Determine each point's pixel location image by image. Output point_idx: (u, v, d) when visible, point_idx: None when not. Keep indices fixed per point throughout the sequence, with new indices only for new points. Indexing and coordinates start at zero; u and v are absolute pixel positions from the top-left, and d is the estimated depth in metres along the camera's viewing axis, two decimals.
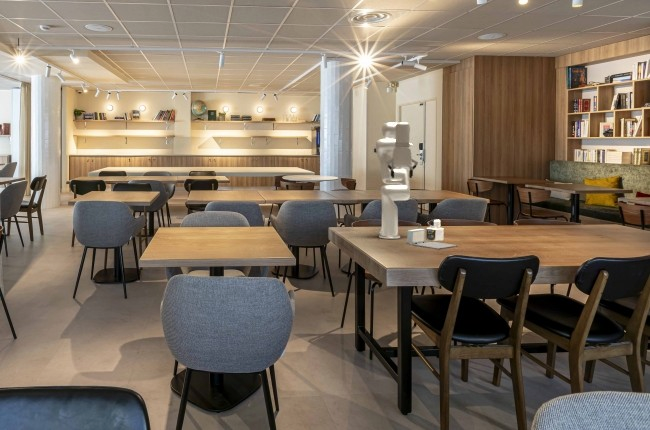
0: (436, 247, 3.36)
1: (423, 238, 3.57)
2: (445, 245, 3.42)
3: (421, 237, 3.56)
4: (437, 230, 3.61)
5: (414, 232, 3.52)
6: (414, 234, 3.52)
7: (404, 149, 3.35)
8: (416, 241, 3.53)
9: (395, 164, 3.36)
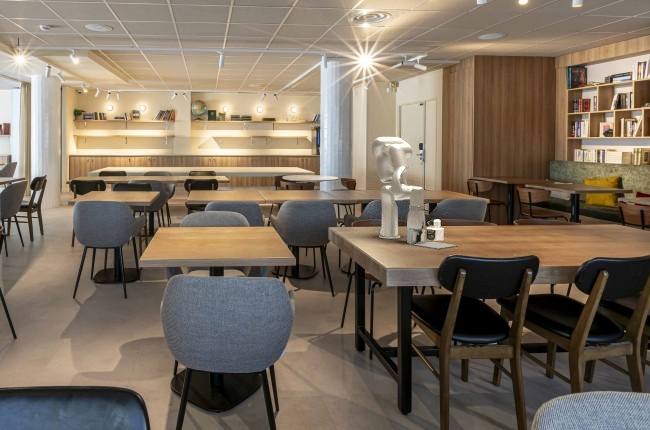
0: (436, 247, 3.36)
1: (423, 238, 3.57)
2: (445, 245, 3.42)
3: (421, 237, 3.56)
4: (437, 230, 3.61)
5: (414, 232, 3.52)
6: (414, 234, 3.52)
7: None
8: None
9: None
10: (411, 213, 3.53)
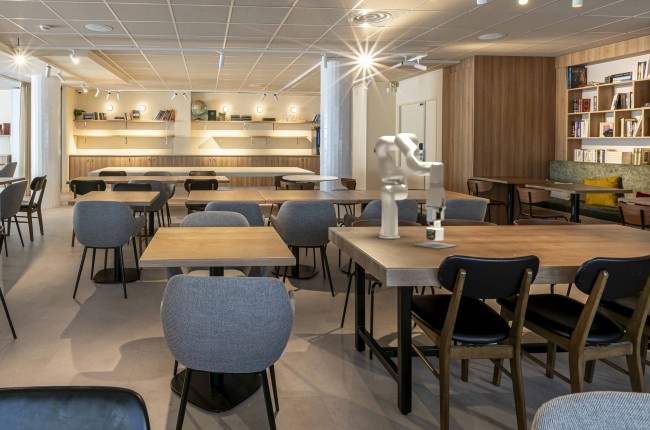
0: (436, 247, 3.36)
1: (443, 216, 3.44)
2: (445, 245, 3.42)
3: (441, 214, 3.43)
4: (437, 230, 3.61)
5: (434, 209, 3.39)
6: (434, 212, 3.39)
7: None
8: (435, 218, 3.41)
9: None
10: (431, 190, 3.41)
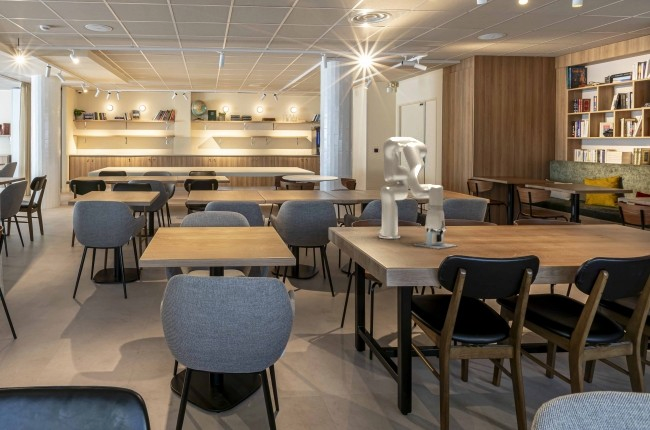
0: (436, 247, 3.36)
1: (442, 240, 3.46)
2: (445, 245, 3.42)
3: None
4: None
5: (433, 233, 3.41)
6: (433, 236, 3.41)
7: None
8: (435, 242, 3.42)
9: None
10: (430, 212, 3.42)
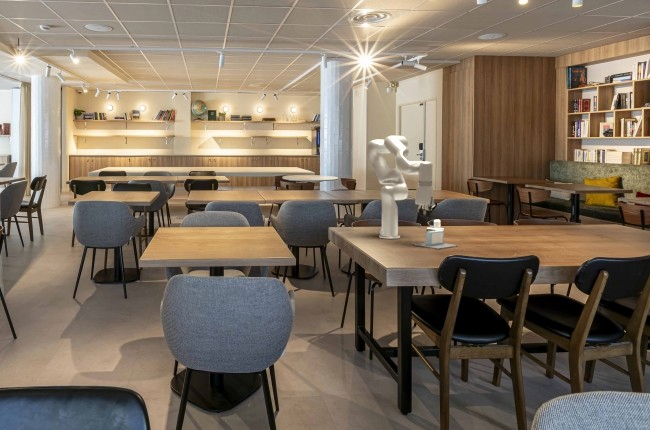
0: (436, 247, 3.36)
1: (442, 240, 3.46)
2: (445, 245, 3.42)
3: (440, 239, 3.45)
4: None
5: (433, 233, 3.41)
6: (433, 236, 3.41)
7: None
8: (435, 242, 3.42)
9: None
10: (419, 188, 3.47)
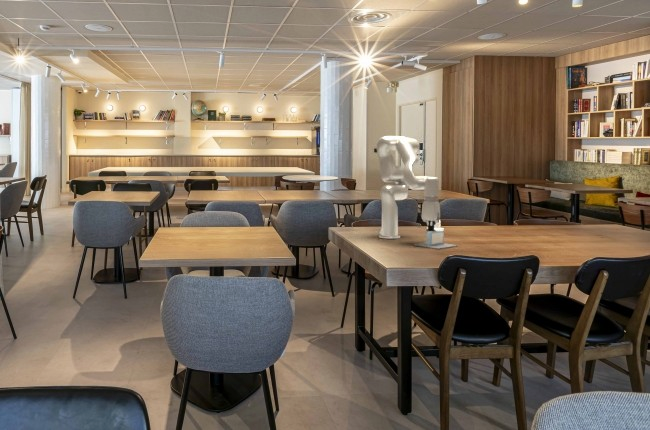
0: (436, 247, 3.36)
1: (442, 240, 3.46)
2: (445, 245, 3.42)
3: (440, 239, 3.45)
4: None
5: (433, 233, 3.41)
6: (433, 236, 3.41)
7: None
8: (435, 242, 3.42)
9: None
10: (426, 204, 3.44)
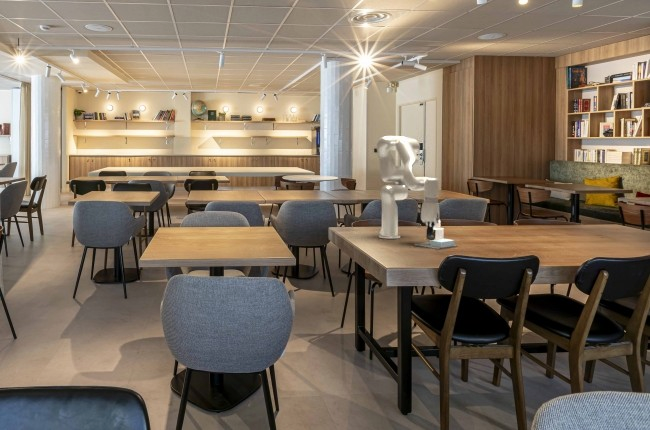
0: (436, 247, 3.36)
1: None
2: None
3: None
4: (437, 230, 3.61)
5: None
6: None
7: None
8: None
9: None
10: (425, 205, 3.44)
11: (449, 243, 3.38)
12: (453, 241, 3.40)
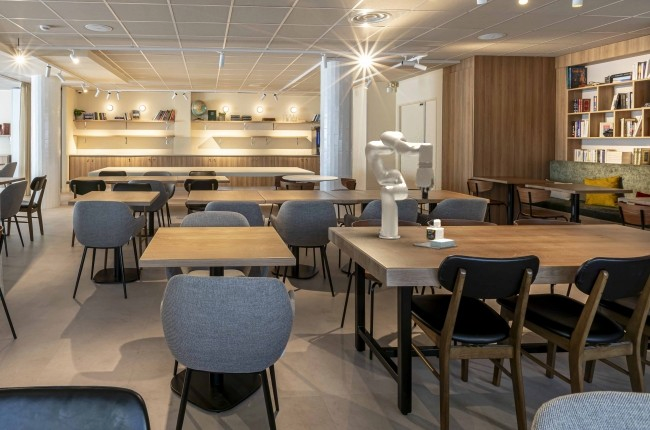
0: (436, 247, 3.36)
1: None
2: None
3: None
4: (437, 230, 3.61)
5: None
6: None
7: None
8: None
9: None
10: (420, 170, 3.46)
11: (449, 243, 3.38)
12: (453, 241, 3.40)
